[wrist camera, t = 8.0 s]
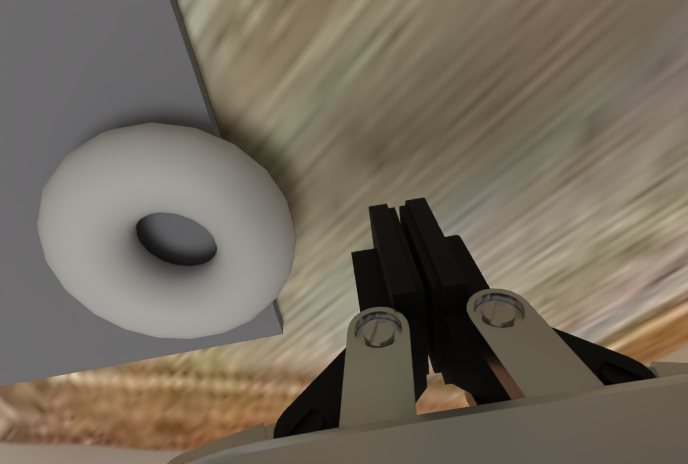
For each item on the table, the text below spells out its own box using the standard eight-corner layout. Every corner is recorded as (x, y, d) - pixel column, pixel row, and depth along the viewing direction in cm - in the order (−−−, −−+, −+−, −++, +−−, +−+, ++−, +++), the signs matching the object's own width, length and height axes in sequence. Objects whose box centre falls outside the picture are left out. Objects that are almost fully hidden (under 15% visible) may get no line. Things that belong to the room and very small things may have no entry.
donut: (239, 74, 15) (5, 159, 16) (228, 96, 13) (-57, 199, 13) (324, 269, 21) (146, 327, 21) (330, 316, 18) (124, 381, 18)
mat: (158, -52, 14) (151, -54, 13) (283, 323, 23) (282, 334, 23) (-335, 39, 14) (-367, 42, 13) (-6, 377, 23) (-15, 388, 23)
